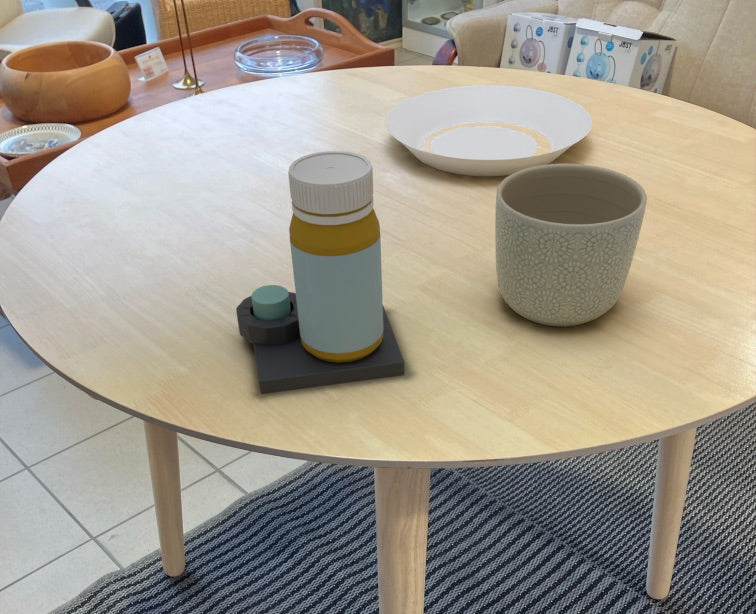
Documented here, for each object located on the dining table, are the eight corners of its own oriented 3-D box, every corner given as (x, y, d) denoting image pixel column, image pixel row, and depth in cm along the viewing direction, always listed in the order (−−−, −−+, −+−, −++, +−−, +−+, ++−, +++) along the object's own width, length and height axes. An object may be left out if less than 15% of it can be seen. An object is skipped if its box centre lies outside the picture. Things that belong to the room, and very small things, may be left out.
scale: (249, 400, 70) (243, 364, 68) (239, 329, 78) (234, 295, 76) (404, 379, 72) (404, 343, 69) (380, 311, 79) (379, 277, 77)
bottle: (398, 333, 74) (395, 158, 63) (355, 374, 69) (345, 194, 59) (330, 313, 76) (316, 142, 66) (285, 352, 72) (263, 176, 62)
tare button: (255, 324, 73) (252, 305, 71) (252, 305, 75) (249, 287, 74) (292, 319, 73) (290, 301, 72) (288, 300, 75) (286, 282, 74)
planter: (548, 359, 73) (563, 240, 65) (462, 298, 81) (467, 185, 73) (654, 315, 77) (679, 199, 70) (563, 262, 85) (577, 152, 78)
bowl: (577, 199, 95) (581, 167, 93) (362, 181, 101) (361, 151, 98) (595, 119, 113) (600, 90, 110) (411, 107, 118) (411, 80, 116)
